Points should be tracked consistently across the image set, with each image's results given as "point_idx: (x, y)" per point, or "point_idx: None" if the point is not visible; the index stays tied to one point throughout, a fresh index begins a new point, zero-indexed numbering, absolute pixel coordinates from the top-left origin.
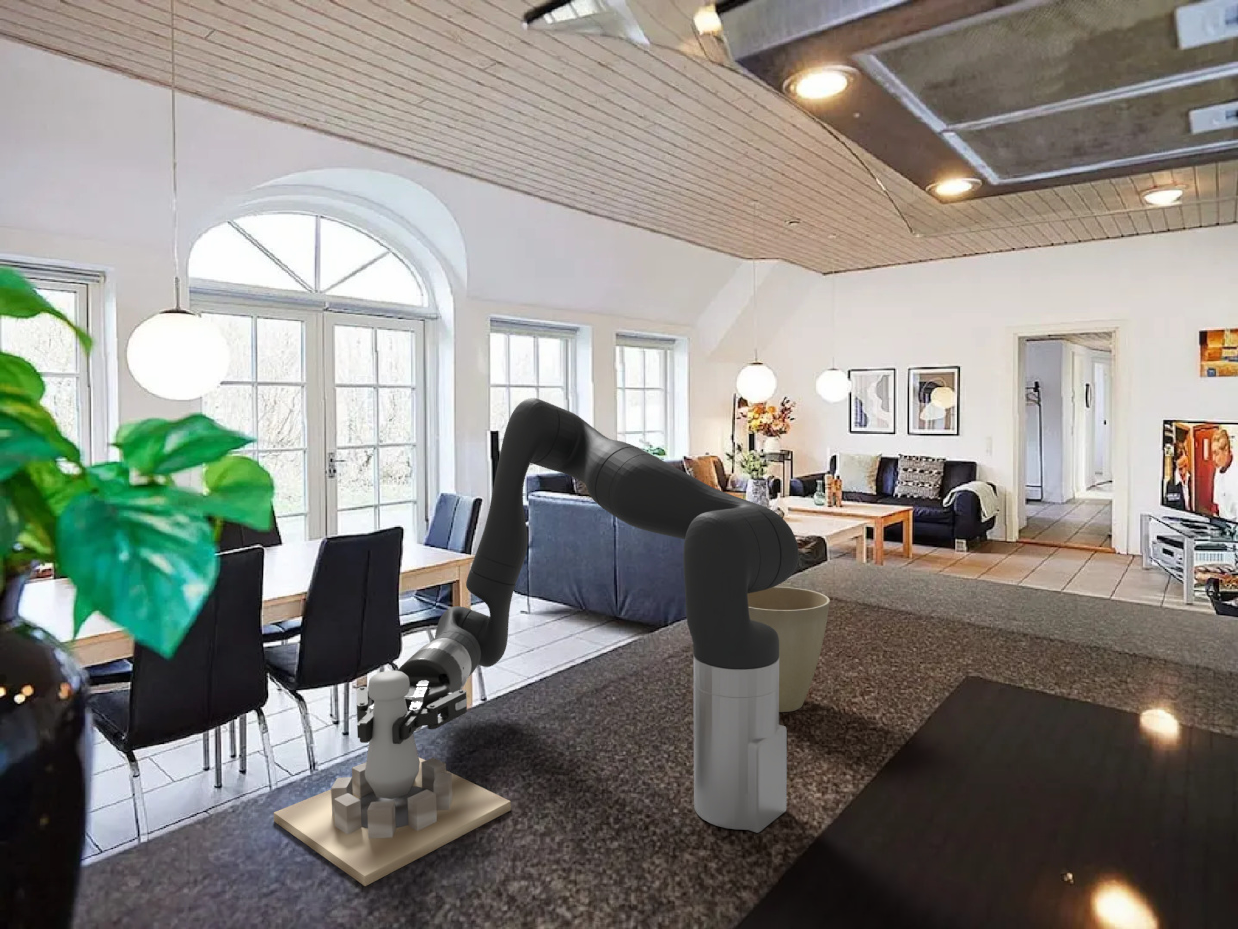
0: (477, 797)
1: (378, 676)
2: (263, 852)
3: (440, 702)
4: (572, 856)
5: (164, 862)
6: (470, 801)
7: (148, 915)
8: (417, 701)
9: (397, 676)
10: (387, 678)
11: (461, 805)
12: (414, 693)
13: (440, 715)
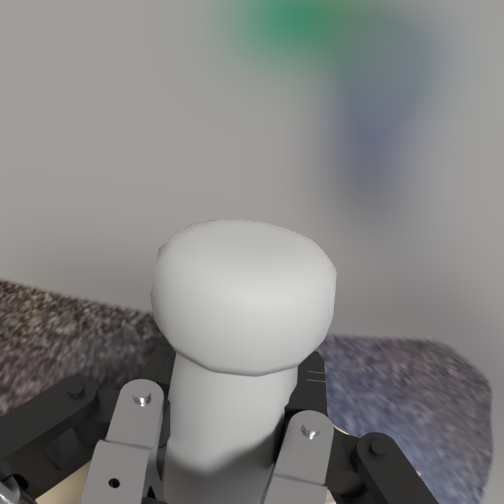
0: (56, 485)
1: (289, 234)
2: (377, 420)
3: (41, 410)
4: (2, 346)
5: (458, 397)
6: (70, 476)
7: (403, 342)
8: (128, 443)
9: (203, 225)
10: (242, 220)
11: (87, 470)
12: (141, 486)
13: (59, 469)
